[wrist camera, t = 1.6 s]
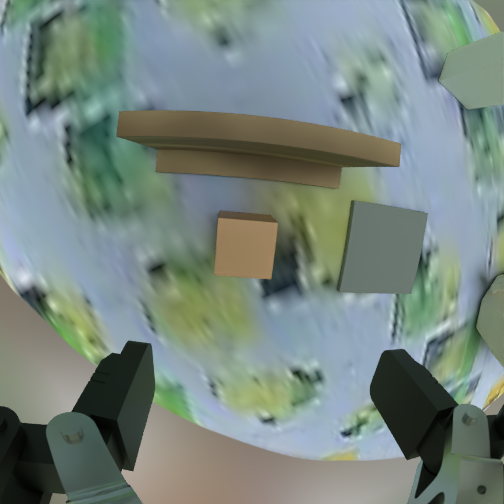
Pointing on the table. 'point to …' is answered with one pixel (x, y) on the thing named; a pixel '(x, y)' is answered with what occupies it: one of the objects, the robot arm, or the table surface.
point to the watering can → (493, 318)
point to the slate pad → (381, 249)
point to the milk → (476, 72)
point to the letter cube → (245, 245)
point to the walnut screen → (254, 146)
